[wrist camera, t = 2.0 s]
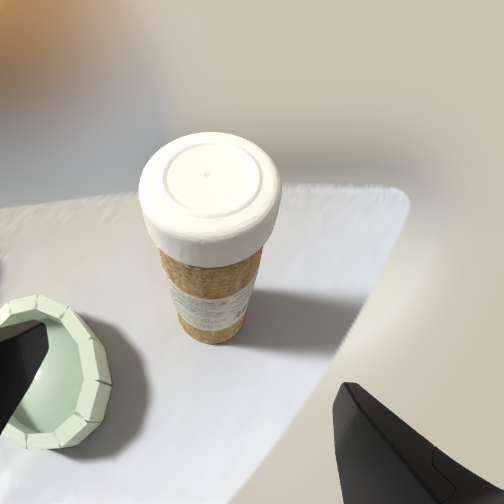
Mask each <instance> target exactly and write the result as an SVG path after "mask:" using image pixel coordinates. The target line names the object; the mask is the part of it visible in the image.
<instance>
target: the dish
mask: <svg viewBox="0 0 504 504" xmlns="http://www.w3.org/2000/svg"><path fill="white" fill-rule="evenodd" d="M33 319H35V320H38V321H41V322H44V323H45V324H46V327H47V334H48V341H49V350H48V353H47V355H46V357H45V359H44V360H43V362H42V364H41V366H40V368H39V370H38V372H37V374H36V376H35V378H34V380H33V382H32V384H31V386H30V387H29V389H28V391H27V392H26V394H25V396H24V397H23V399H22V400H21V402H20V403H19V405H18V407H17V408H16V410H15V412H14V413H13V415H12V416H11V418H10V420H9V421H8V423H7V425H6V427H5V428H4V430H3V432H2V433H1V434H3V435H4V436H6V437H7V438H9V439H10V440H12V441H14V442H15V443H17V444H18V445H20V446H21V447H23V448H25V449H28V450H33V449H53V448H64V447H72V446H76V445H78V444H80V443H81V442H82V441H83V440H84V439H85V438H86V437H87V436H88V435H89V434H91V433H92V432H93V431H94V430H95V429H96V428H97V427H98V426H99V425H100V424H102V423H101V422H100V421H103V418H104V415H105V411H106V407H107V403H108V400H109V396H110V393H111V389H112V386H109V385H110V384H112V381H111V376H110V372H109V367H108V362H107V357H106V351H105V348H104V347H103V346H104V345H103V344H102V343H101V342H100V340H99V339H98V338H97V337H96V335H95V334H94V333H93V331H92V330H91V329H90V328H89V326H88V325H87V324H86V322H85V321H84V320H83V319H82V318H81V317H80V316H79V315H78V314H76V313H75V312H74V311H73V310H72V309H71V308H70V307H68V306H67V305H64V304H62V303H59V302H56V301H54V300H51V299H49V298H46V297H44V296H41V295H39V296H38V295H37V294H36V295H32V296H28V297H24V298H20V299H16V300H12V301H9V303H8V302H7V303H6V304H5V305H4V306H3V307H2V308H1V309H0V328H1V327H5V326H9V325H13V324H17V323H21V322H25V321H29V320H33Z"/></svg>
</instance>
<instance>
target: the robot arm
mask: <svg viewBox="0 0 504 504" xmlns="http://www.w3.org/2000/svg"><path fill="white" fill-rule="evenodd" d="M48 350H49V341H48V334H47V327H46V324H45V323H44V322H41V321H38V320H35V319H33V320H29V321H25V322H21V323H17V324H13V325H9V326H5V327H1V328H0V435H1V433H2V432H3V430H4V428H5V427H6V425H7V423H8V421H9V420H10V418H11V416H12V415H13V413H14V412H15V410H16V408H17V407H18V405H19V403H20V402H21V400H22V399H23V397H24V396H25V394H26V392H27V391H28V389H29V387H30V386H31V384H32V382H33V380H34V378H35V376H36V374H37V372H38V370H39V368H40V366H41V364H42V362H43V360H44V359H45V357H46V355H47V353H48ZM333 425H334V442H335V454H336V461H337V466H338V472H339V478H340V484H341V490H342V495H343V501H344V504H504V490H502V489H500V488H498V487H496V486H494V485H492V484H491V483H489V482H487V481H486V480H484V479H483V478H481V477H479V476H477V475H476V474H474V473H473V472H471V471H469V470H468V469H466V468H465V467H463V466H462V465H460V464H459V463H457V462H456V461H454V460H453V459H452V458H450V457H449V456H447V455H446V454H445V453H443V452H442V451H441V450H440V449H438V448H437V447H436V446H435V447H434V445H433V444H432V443H430V442H429V441H428V440H427V439H425V438H424V437H423V436H422V435H420V434H419V433H418V432H416V431H415V430H414V429H413V428H411V427H410V426H409V425H408V424H406V423H405V422H404V421H403V420H401V419H400V418H399V417H398V416H396V415H395V414H394V413H393V412H392V411H390V410H389V409H388V408H387V407H385V406H384V405H383V404H382V403H380V402H379V401H378V400H377V399H376V398H374V397H373V396H372V395H371V394H369V393H368V392H367V391H366V390H365V389H363V388H362V387H361V386H360V385H358V384H357V383H351V382H344V383H342V385H341V386H340V389H339V391H338V394H337V396H336V398H335V401H334V404H333Z"/></svg>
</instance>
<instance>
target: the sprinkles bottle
mask: <svg viewBox="0 0 504 504" xmlns="http://www.w3.org/2000/svg"><path fill="white" fill-rule="evenodd" d="M281 195H282V184H281V177H280V174H279V172H278V169H277V167H276V165H275V163H274V162H273V160H272V159H271V158H270V157H269V155H268V154H267V153H266V152H265V151H264V150H262V149H261V148H260V147H258V146H257V145H255V144H254V143H252V142H250V141H248V140H246V139H244V138H241V137H238V136H235V135H231V134H227V133H218V132H204V133H196V134H191V135H188V136H184V137H181V138H179V139H176V140H174V141H172V142H170V143H169V144H167V145H165V146H164V147H163V148H161V149H160V150H159V151H158V152H156V153H155V154H154V155H153V157H152V158H151V159H150V160H149V162H148V163H147V165H146V166H145V168H144V170H143V173H142V175H141V179H140V183H139V199H140V203H141V208H142V212H143V216H144V219H145V223H146V226H147V229H148V232H149V234H150V236H151V238H152V240H153V241H154V243H155V244H156V245H157V246H158V249H159V251H160V256H161V260H162V268H163V272H164V275H165V278H166V281H167V284H168V287H169V290H170V293H171V296H172V299H173V301H174V304H175V307H176V309H177V311H178V316H179V320H180V323H181V325H182V327H183V328H184V330H185V332H186V333H187V334H189V335H190V336H191V337H192V338H194V339H196V340H198V341H200V342H203V343H208V344H212V343H221V342H224V341H226V340H228V339H230V338H232V337H233V336H235V335H236V333H237V332H238V331H239V330H240V328H241V326H242V325H243V323H244V320H245V315H246V309H247V307H248V304H249V300H250V297H251V294H252V290H253V287H254V283H255V280H256V276H257V273H258V269H259V265H260V260H261V254H262V249H263V245H264V244H265V242H266V241H267V240H268V238H269V236H270V235H271V233H272V230H273V228H274V225H275V221H276V218H277V214H278V210H279V205H280V200H281Z"/></svg>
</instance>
